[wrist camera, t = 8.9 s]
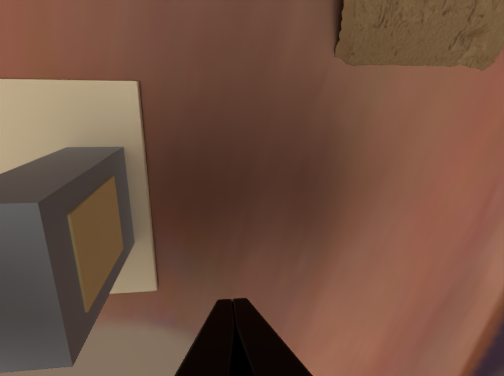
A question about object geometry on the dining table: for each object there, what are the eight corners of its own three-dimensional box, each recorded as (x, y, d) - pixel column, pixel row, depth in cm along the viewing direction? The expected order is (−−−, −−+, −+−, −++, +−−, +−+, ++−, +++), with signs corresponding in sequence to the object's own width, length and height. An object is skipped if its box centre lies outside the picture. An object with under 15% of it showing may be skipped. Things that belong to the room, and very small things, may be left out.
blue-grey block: (125, 146, 17) (41, 202, 9) (136, 243, 19) (75, 366, 11) (66, 147, 17) (-80, 206, 9) (83, 245, 19) (-24, 374, 10)
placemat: (138, 81, 17) (136, 81, 16) (157, 286, 21) (156, 290, 20) (-157, 76, 15) (-169, 76, 15) (-76, 299, 19) (-83, 305, 19)
